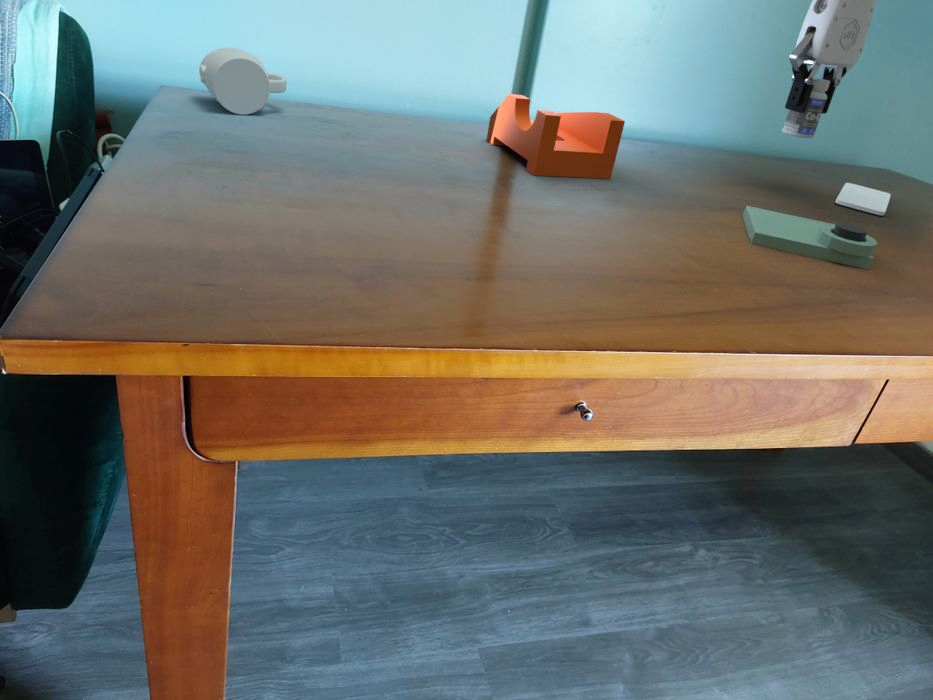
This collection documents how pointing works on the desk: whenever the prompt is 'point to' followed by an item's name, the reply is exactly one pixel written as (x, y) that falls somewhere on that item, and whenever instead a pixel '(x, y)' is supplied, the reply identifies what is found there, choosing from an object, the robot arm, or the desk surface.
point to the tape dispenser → (557, 139)
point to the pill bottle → (808, 112)
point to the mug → (239, 80)
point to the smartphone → (863, 199)
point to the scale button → (850, 231)
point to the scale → (806, 238)
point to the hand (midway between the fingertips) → (805, 109)
